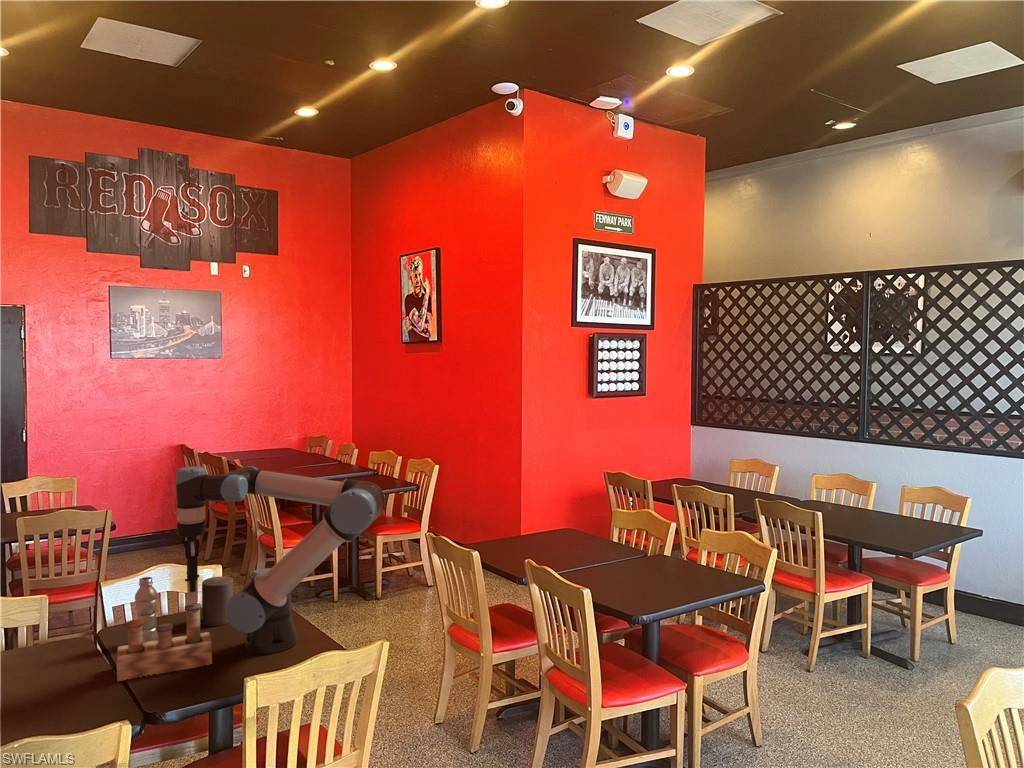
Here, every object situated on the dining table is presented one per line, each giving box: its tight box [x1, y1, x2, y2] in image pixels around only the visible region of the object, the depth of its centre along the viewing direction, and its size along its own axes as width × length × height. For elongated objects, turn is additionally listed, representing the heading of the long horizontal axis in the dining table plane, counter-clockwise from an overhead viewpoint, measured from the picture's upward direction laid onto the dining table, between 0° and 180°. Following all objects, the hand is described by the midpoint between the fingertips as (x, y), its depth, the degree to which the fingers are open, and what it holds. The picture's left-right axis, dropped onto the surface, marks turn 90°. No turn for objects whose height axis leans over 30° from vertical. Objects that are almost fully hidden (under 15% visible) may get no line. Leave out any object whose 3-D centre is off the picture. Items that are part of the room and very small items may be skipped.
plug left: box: [184, 602, 202, 644], centre depth 210 cm, size 4×4×11 cm
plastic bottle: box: [134, 576, 158, 642], centre depth 224 cm, size 6×7×20 cm
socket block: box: [116, 631, 213, 682], centre depth 207 cm, size 24×10×6 cm, turn 117°
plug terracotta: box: [125, 618, 144, 654], centre depth 204 cm, size 4×4×11 cm
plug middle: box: [156, 622, 174, 649], centre depth 207 cm, size 4×4×11 cm
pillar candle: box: [201, 575, 234, 627], centre depth 242 cm, size 10×10×15 cm
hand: (192, 601), depth 210 cm, fingers closed
